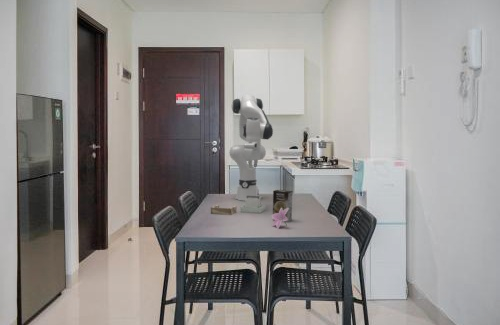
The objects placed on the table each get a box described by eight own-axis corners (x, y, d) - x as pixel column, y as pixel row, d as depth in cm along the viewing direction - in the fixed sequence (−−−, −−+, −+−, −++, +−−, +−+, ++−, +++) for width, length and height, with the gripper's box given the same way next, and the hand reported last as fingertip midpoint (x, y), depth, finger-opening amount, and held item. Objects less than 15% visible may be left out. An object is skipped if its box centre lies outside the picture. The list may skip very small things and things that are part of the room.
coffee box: (272, 220, 226) (272, 190, 225) (277, 218, 232) (277, 189, 231) (287, 221, 222) (288, 191, 221) (292, 219, 228) (292, 190, 226)
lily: (271, 225, 218) (265, 210, 214) (292, 216, 218) (286, 202, 214) (276, 237, 207) (269, 222, 203) (297, 228, 206) (291, 213, 203)
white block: (247, 209, 256) (247, 195, 256) (260, 209, 254) (260, 195, 253) (245, 210, 252) (245, 196, 251) (258, 211, 249) (258, 196, 249)
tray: (245, 209, 259) (245, 204, 259) (264, 210, 256) (264, 205, 256) (240, 211, 250) (240, 207, 250) (260, 213, 246) (260, 208, 246)
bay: (217, 210, 254) (217, 204, 254) (236, 211, 250) (236, 205, 250) (210, 213, 245) (210, 207, 244) (230, 214, 241) (230, 208, 241)
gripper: (253, 144, 261) (253, 166, 262) (242, 144, 241) (242, 168, 242) (262, 144, 259) (262, 166, 260) (253, 145, 239) (253, 169, 240)
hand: (253, 167), depth 251 cm, fingers open, 8 cm apart
